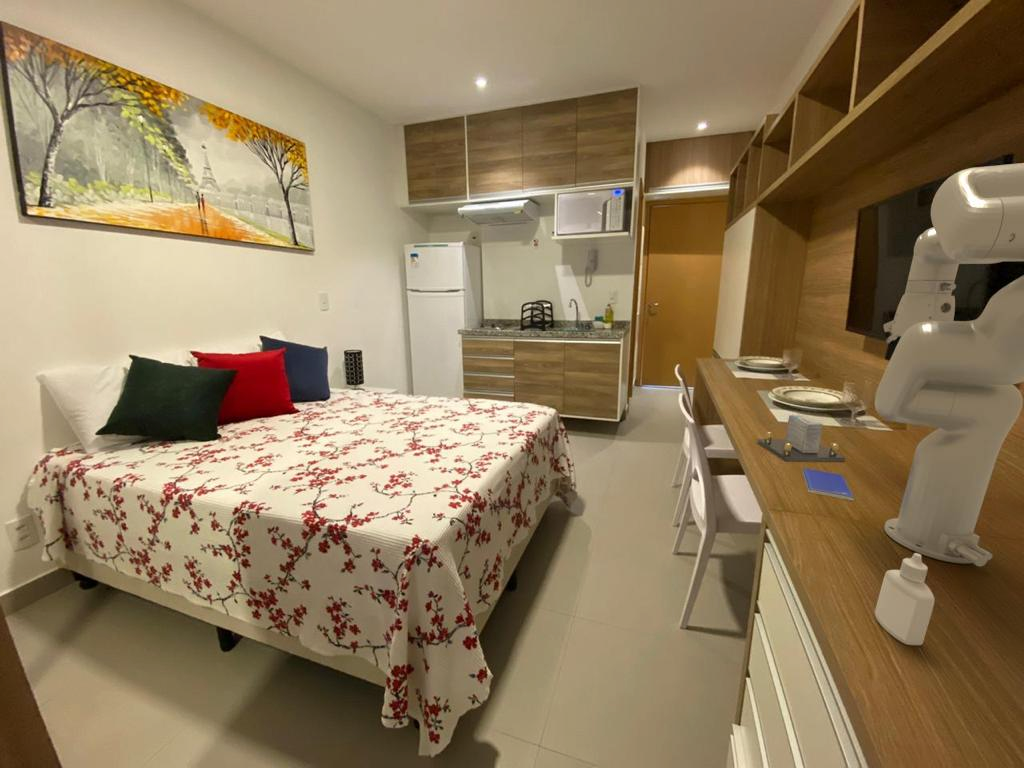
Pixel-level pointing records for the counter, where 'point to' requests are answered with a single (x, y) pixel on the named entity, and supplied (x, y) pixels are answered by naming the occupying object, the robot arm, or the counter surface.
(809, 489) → the hard drive
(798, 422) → the medicine box
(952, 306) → the robot arm
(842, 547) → the counter surface
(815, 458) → the plate
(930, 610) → the eye dropper bottle
